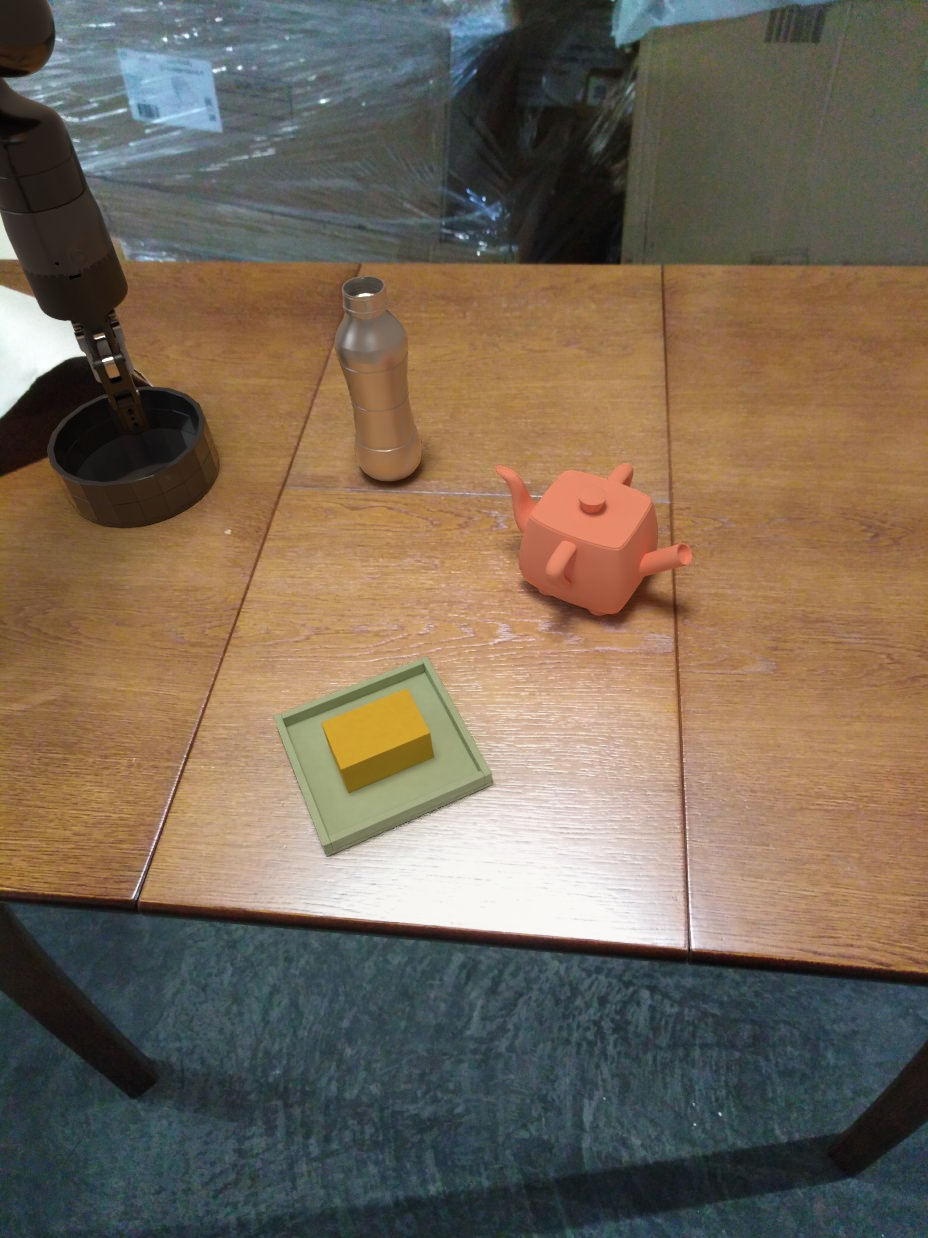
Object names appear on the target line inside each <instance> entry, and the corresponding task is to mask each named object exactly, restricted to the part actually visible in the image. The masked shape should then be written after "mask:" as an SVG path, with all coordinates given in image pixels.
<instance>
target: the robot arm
mask: <svg viewBox="0 0 928 1238" xmlns="http://www.w3.org/2000/svg"><path fill="white" fill-rule="evenodd" d="M56 33H57V31H56V22H55V18H54V14H53V11H52V8H51V6H50V3H49V1H48V0H0V218H1V222H2V224H3V227H4V230H5V233H6V236H7V237H8V241H9V243H10V245H11V247H12V249H13V251H14V254H15V256H16V258H17V260H18V262H19V265H20V267H21V269H22V271H23V273H24V276H25V278H26V280H27V283H28V284H29V286H30V289H31V291H32V293H33V295H34V296H33V297H34V298H35V301H36V302H37V305H38V307H39V309H40V310H41V312H43V314H45V315H46V316H48V317H50V318H51V319H54V320H57V321H63V322H68V321H69V322H70V325H71V327H72V329H73V335H74V337H75V339H76V341H77V345H78V347H79V349H80V351H81V352H82V353H83V354H85V356H86V359H87V361H88V363H89V366H90V369H91V371H92V374H93V376H94V378H95V380H96V381H97V383H101V385H102V388H103V389H104V391H105V394H107V396H108V399H109V401H110V402H109V404H110V406H111V408H113V409H114V411H117V412H118V415H119V417H120V420H121V422H122V424H123V427H124V429H125V431H126V434H127V435H129V436H135V435H138V434H141V433H145V432H147V431H149V429H150V427H149V424H148V421H147V419H146V416H145V414H144V411H143V409H142V406H141V402H140V400H141V397H140V394H139V391H138V389H137V390H136V386H135V383H134V381H133V378H132V375H133V374H134V372H135V367H134V365H133V362H132V360H131V357H130V353H129V351H128V349H127V346H126V344H125V342H126V336H125V333H124V331H123V328H122V325H121V322H120V321H119V316H118V315H117V312H116V308H117V307H119V306H120V305H121V304H122V303H123V302H124V300H125V299H126V297H127V294H128V291H129V287H128V286H129V284H128V281H127V278H126V276H125V273H124V270H123V268H122V265H121V262H120V259H119V257H118V254H117V252H116V249H115V246H114V243H113V240H112V238H111V234H110V232H109V229H108V227H107V224H106V221H105V218H104V215H103V213H102V210H101V208H100V206H99V204H98V201H97V200H96V198H95V196H94V194H93V192H92V191H91V188H90V187H89V184H88V182H87V178H86V175H85V174H84V170H83V168H82V165H81V162H80V160H79V156H78V153H77V151H76V148H75V146H74V143H73V140H72V138H71V135H70V133H69V130H68V128H67V126H66V124H65V121H64V120H63V118H62V117H61V116H60V114H59V113H58V111H56V110H55V109H54V108H52V107H51V106H48V105H46V104H45V103H42V102H39V101H37V100H34V99H32V98H28V97H26V96H24V95H22V94H20V93H18V92H17V91H15V89H13V88H12V87H11V86H10V84H8V82H7V81H6V79H20V78H26V77H29V76H31V75H34V74H36V73H38V72H39V71H40V70H42V69H43V68H44V67H45V65H47V63H48V62H49V61H50V59H51V57H52V55H53V52H54V49H55V44H56V39H57V38H56V37H57V35H56Z"/></svg>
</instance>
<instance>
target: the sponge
mask: <svg viewBox="0 0 928 1238" xmlns="http://www.w3.org/2000/svg"><path fill="white" fill-rule="evenodd" d="M321 724H322V727H323V730H324V733H325V736H326V740H327V743H328V746H329V749H330V751H331V753H332V756H333V758H334V760H335V763H336V765H337V768H338V770H339V772H340V775H341V777H342V780H343V782H344V784H345V787H346V789H347V791H348V793H350V792H352V791H355V790H357V789H360V788H362V787H364V786H367V785H369V784H372V783H374V782H376V781H379V780H381V779H383V778H386V777H388V776H391V775H393V774H395V773H398V772H400V771H402V770H405V769H407V768H410V767H412V766H414V765H417V764H419V763H421V762H424V761H426V760H429V759H431V758H433V757H434V753H433V747H432V740H431V734H430V731H429V729H428V727H427V725H426V723H425V721H424V719H423V717H422V715H421V713H420V711H419V709H418V708H417V706H416V704H415V702H414V700H413V698H412V696H411V694H410V692H409V690H408V688H407V689H404V690H402V691H399V692H397V693H394V694H391V695H389V696H386V697H384V698H381V699H379V700H376V701H374V702H371V703H369V704H366V705H364V706H361V707H359V708H356V709H354V710H351V711H349V712H346V713H344V714H341V715H339V716H336V717H334V718H331V719H329V720H326V721H324V722H321Z"/></svg>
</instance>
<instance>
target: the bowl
mask: <svg viewBox="0 0 928 1238" xmlns="http://www.w3.org/2000/svg"><path fill="white" fill-rule="evenodd" d="M135 388H136V390H137V389H138V391H139V394H140V397H141V400H140V402H141V406H142V409H143V411H144V414H145V416H146V419H147V421H148V424H149V427H150V429H149V431H147V432H145V433H141V434H138V435H135V436H129V435H127V434H126V431H125V429H124V427H123V424H122V422H121V420H120V417H119V415H118V412H117V411H114V409H113V408H111V406H110V404H109V402H110V401H109V399H108V396H107V394H106V393H105V394H102V395H99V396H98V397H95V398H93V399H92V400H89V401H88V402H85V403H84V404H83V403H82V404H81V405H80V406H79V407H77V408H76V409H75V410H73V411H72V412H70V413H69V414H68V415H66V416H65V417H64V418H63V419H62V420H61V422H60V423H59V424H58V426H57V427H56V428H55V429H54V431H53V432H52V433H51V435H50V438H49V442H48V445H47V449H46V452H47V457H48V462H49V465H50V467H51V468H52V470H53V472H54V475H55V477H56V478H57V480H58V482H59V484H60V485H61V488H62V489H63V491H64V494H65V495H66V496H67V498H68V501H69V502H70V504H71V505H72V506H73V507H74V509H75V510H76V512H77V513H79V515H81V516H82V517H83V518H85V519H86V520H88V521H90V522H91V523H94V524H98V525H101V526H105V527H110V528H137V527H143V526H148V525H153V524H156V523H159V522H163V521H165V520H168V519H170V518H173V517H175V516H178V515H179V514H181V513H182V512H184V511H186V510H188V509H189V508H190V507H192V506H193V505H196V503H198V501H200V500H201V499H202V498H203V497H204V496H205V495H206V494H207V493H208V491H210V489H211V487H212V486H213V485H214V482H215V480H216V479H217V476H218V473H219V468H220V461H219V454H218V450H217V448H216V445H215V441H214V439H213V436H212V433H211V430H210V427H209V424H208V421H207V418H206V416H205V413H204V411H203V409H202V407H201V405H200V403H199V402H197V401H196V400H195V399H194V398H193V397H192V396H190V394H188V393H185V392H182V391H180V390H177V389H174V388H171V387H164V386H163V387H162V386H152V385H148V386H138V387H137V386H135Z"/></svg>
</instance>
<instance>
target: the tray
mask: <svg viewBox="0 0 928 1238" xmlns="http://www.w3.org/2000/svg"><path fill="white" fill-rule="evenodd" d="M407 688H408V690H409V692H410V694H411V696H412V698H413V700H414V702H415V704H416V706H417V708H418V709H419V711H420V713H421V715H422V717H423V719H424V721H425V723H426V725H427V727H428V729H429V731H430V734H431V740H432V747H433V753H434V757H433V758H431V759H429V760H426V761H424V762H421V763H419V764H417V765H414V766H412V767H410V768H407V769H405V770H402V771H400V772H398V773H395V774H393V775H391V776H388V777H386V778H383V779H381V780H379V781H376V782H374V783H372V784H369V785H367V786H364V787H362V788H360V789H357V790H355V791H352V792H350V793H348V791H347V789H346V787H345V784H344V782H343V780H342V777H341V775H340V772H339V770H338V768H337V765H336V763H335V760H334V758H333V756H332V753H331V751H330V749H329V746H328V743H327V740H326V736H325V733H324V730H323V727H322V724H321V722H324V721H326V720H329V719H331V718H334V717H336V716H339V715H341V714H344V713H346V712H349V711H351V710H354V709H356V708H359V707H361V706H364V705H366V704H369V703H371V702H374V701H376V700H379V699H381V698H384V697H386V696H389V695H391V694H394V693H397V692H399V691H402V690H404V689H407ZM273 720H274V722H275V725H276V728H277V730H278V734H279V736H280V738H281V741H282V744H283V746H284V748H285V751H286V754H287V757H288V759H289V762H290V765H291V767H292V770H293V772H294V775H295V777H296V780H297V783H298V786H299V788H300V791H301V793H302V796H303V799H304V802H305V804H306V807H307V809H308V811H309V815H310V818H311V820H312V822H313V826H314V827H315V830H316V833H317V836H318V838H319V840H320V843H321V846H322V849H323V851H324V854H325V856H326V857H329V856H332V855H335V854H336V853H339V852H340V851H343V850H345V849H348V848H351V847H353V846H355V845H356V844H359V843H363V842H364V841H366V840H368V839H371V838H373V837H375V836H377V835H380V834H381V833H382V834H383V833H385V832H387V831H389V830H391V829H394V828H396V827H398V826H401V825H403V824H405V823H407V822H410V821H412V820H414V819H417V818H419V817H422V816H424V815H426V814H428V813H431V812H433V811H434V810H437V809H439V808H441V807H444V806H447V805H448V804H449V805H450V804H451V803H454V802H455V801H458V800H460V799H462V798H464V797H465V798H466V797H467V796H469V795H472V794H474V793H476V792H479V791H481V790H483V789H485V788H488V787H490V786H492V785H493V772H492V770H491V769H490V767H489V765H488V763H487V761H486V760H485V758H484V756H483V755H482V753H481V751H480V748H479V747H478V745H477V743H476V742H475V740H474V738H473V736H472V734H471V732H470V730H469V729H468V727H467V725H466V723H465V721H464V720H463V718H462V716H461V714H460V712H459V711H458V708H457V707H456V705H455V704H454V701H453V699H452V698H451V696H450V694H449V692H448V691H447V688H446V687H445V685H444V683H443V681H442V679H441V677H440V675H439V674H438V672H437V671H436V668H435V667H434V665H433V663H432V661H431V658H430V657H429V656H428V655H426V656H423V657H421V658H418V659H416V660H414V661H413V660H412V661H410V662H408V663H406V664H403V665H401V666H397V667H396V668H393V669H390V670H388V671H385V672H383V673H380V674H377V675H375V676H373V677H369V678H368V679H365V680H362V681H359V682H357V683H354V684H352V685H349V686H347V687H345V688H342V689H339V690H337V691H334V692H331V693H329V694H327V695H324V696H321V697H318V698H316V699H314V700H311V701H309V702H306V703H303V704H301V705H299V706H296V707H293V708H291V709H288V710H285V711H283V712H281V713H278V714H275V715H273Z"/></svg>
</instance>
